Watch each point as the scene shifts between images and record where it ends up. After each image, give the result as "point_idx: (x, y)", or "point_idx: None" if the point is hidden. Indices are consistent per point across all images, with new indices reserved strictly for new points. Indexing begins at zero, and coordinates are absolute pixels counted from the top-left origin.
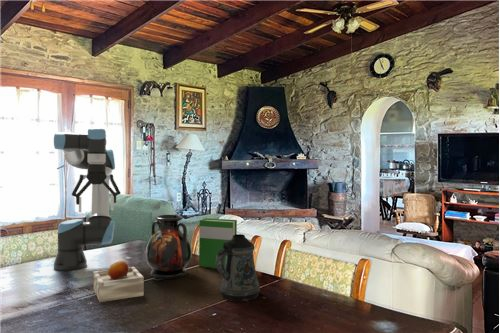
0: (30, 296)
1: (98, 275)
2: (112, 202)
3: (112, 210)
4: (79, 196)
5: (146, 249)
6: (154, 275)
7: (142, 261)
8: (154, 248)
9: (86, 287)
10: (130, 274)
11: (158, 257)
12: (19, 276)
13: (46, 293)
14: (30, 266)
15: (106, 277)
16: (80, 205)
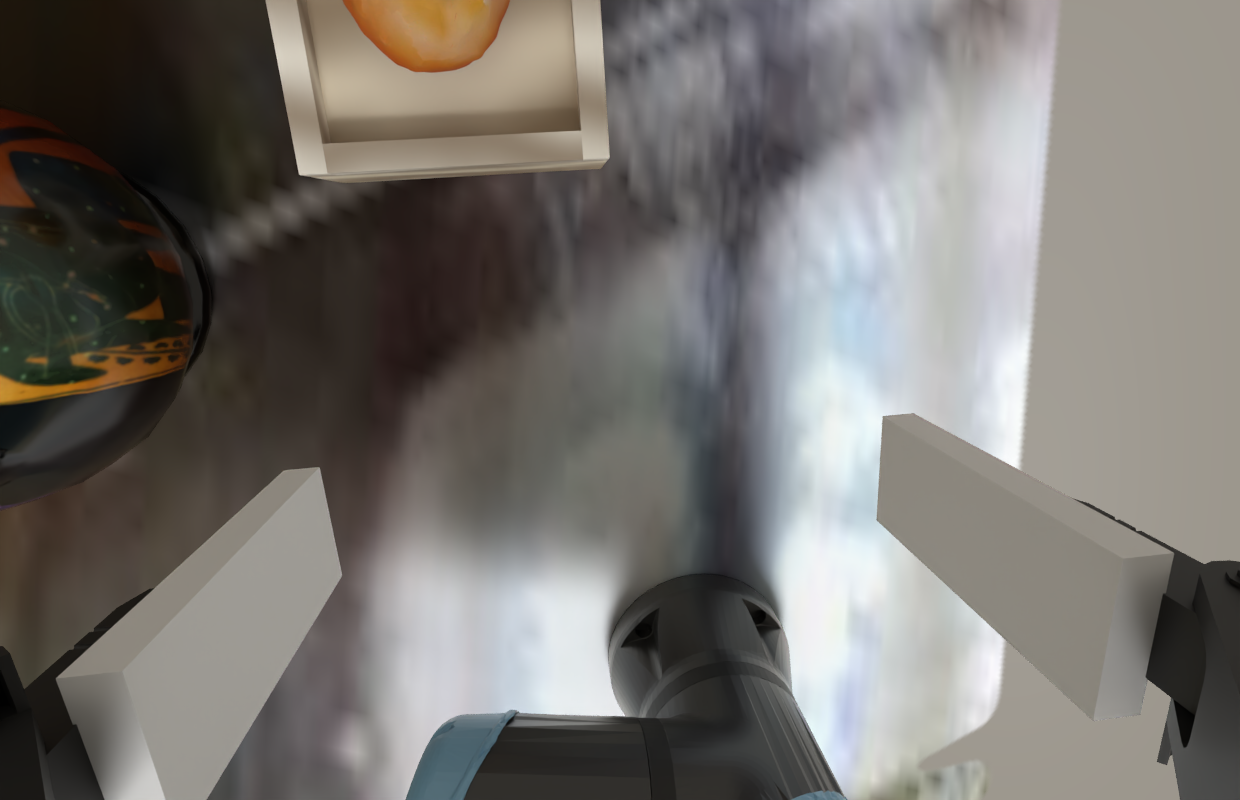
0: (928, 174)
1: (582, 25)
2: (225, 554)
3: (309, 468)
4: (1202, 582)
5: (127, 317)
6: (183, 232)
7: None
8: (11, 181)
9: (637, 217)
10: (342, 58)
11: (32, 128)
12: None
13: (850, 194)
14: (885, 707)
15: (523, 51)
16: (980, 463)
